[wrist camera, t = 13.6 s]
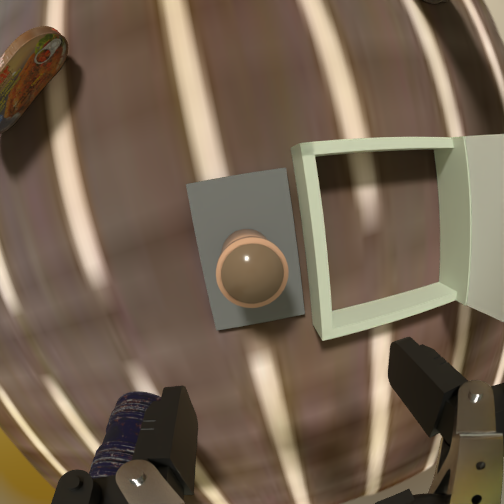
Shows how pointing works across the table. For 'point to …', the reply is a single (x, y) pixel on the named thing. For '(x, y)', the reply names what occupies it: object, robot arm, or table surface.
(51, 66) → the tin
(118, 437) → the storage jar
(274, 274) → the pot
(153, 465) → the robot arm
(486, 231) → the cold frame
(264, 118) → the table surface
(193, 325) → the table surface
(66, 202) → the table surface
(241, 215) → the slate mat
